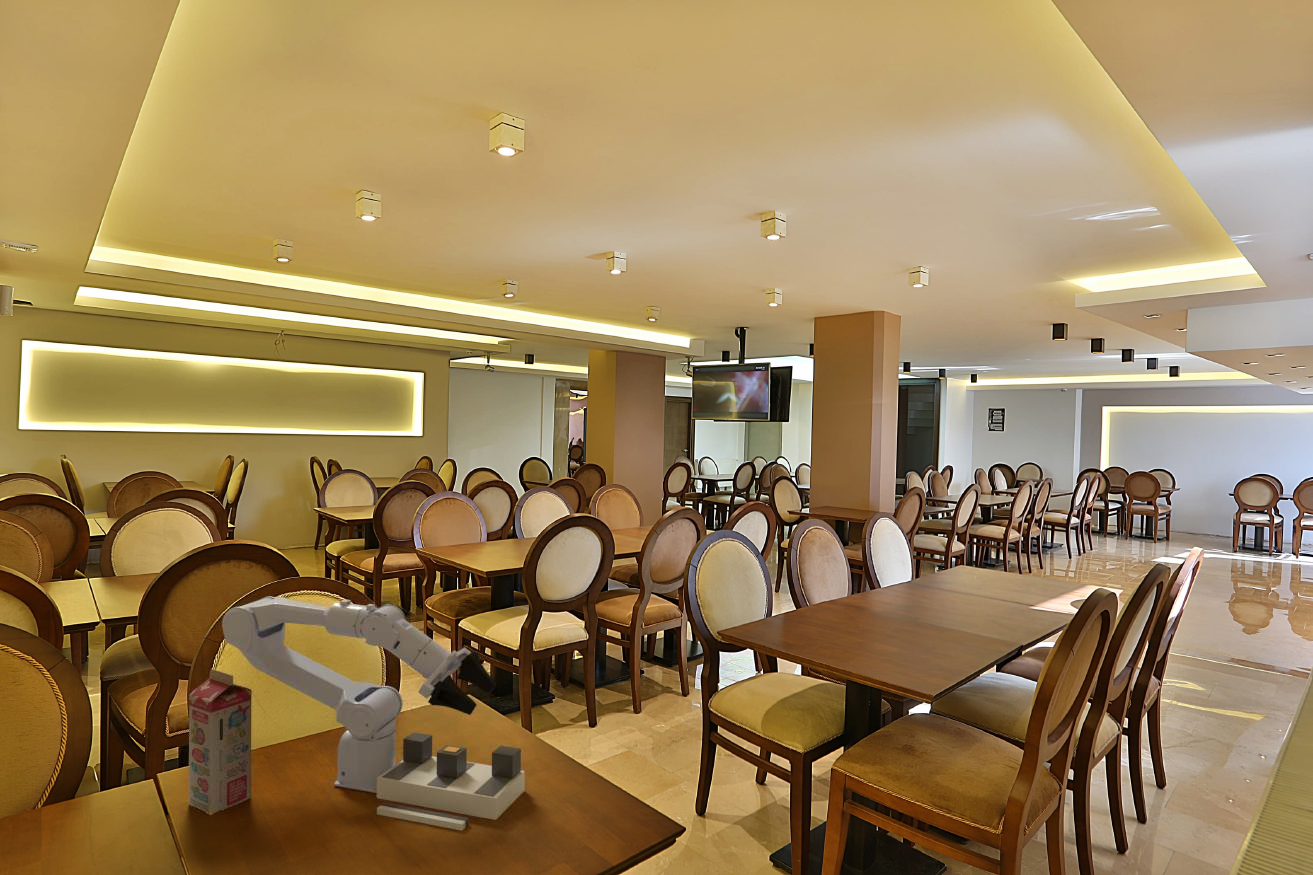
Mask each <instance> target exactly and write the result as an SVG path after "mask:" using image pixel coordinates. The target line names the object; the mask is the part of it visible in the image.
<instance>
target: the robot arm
mask: <svg viewBox="0 0 1313 875" xmlns="http://www.w3.org/2000/svg"><path fill="white" fill-rule="evenodd" d="M286 624H294V625H295V624H297V625H307V626H320V627H324V629H325V631H326V632H327V633H328V634H330V635H334V636H335V635H336V636H340V637H341V636H342V637H350V638H356V639H363V640H364V639H365V644H367V645H369V646H373V647H379V646H380V647H382V648H383V649H385V650H387V651H388V652H390V653H391V654H393V655H394V656H395V657H396V658H398V659H399V660H400V661H402V662H403V663H405V664H406V665H407V666H409V667H410V668H411V669H413V670H414V671H416V673H418V674H419V675H421V677H423V678H425V679H426V681H424V682H423V683H422V685H421V686H420V688H419V690H418V691H417V692H418V694H420V695H421V696H422V697H423V698H425V700H427V699H428V701H427V703H428V704H430V705H431V706H437V707H438V706H439V707H444V708H449V709H450V708H451V709H453V710H456V711H459V712H461V713H463V714H467V715H469V716H471V714H473V712H474V710H475V709H476V707H477V706H478V705H477V703H476V701H474V700H473V699H472V697H470V696H469V695H467V694H466V693H465V692H464V691H463V690H462V689H461V688H460V687H459V686H458V684H457V683H456V682H455V681H454V680H455V679H453V677H452V675H453V674H454V673H455V672H456V671H457V670H458V671H459V673H458V674H457V676H456V680H462V681H464V682H467V683H469V684H472V685H474V686H475V687H476V688H479V689H480V690H482V691H483V692H485V693H487V694H491V693H492V691H493V690H494V689H495V687H496V686H497V682H496V681H495V680H494V679H493V678H492V677H491V675H490V674H489V673H488V672H487V670H486V668H485V667H484V665H483V664H482V662H481V660H480V657H479V655H478V652H476V651H474V650H472V651H470V650H469V649H467V648H466V647H462V649H460V650H458V651H456V650H453V651H451V652H450V651H448V650H447V649H446V648H444V647H443V646H442V645H440V644H439V643H438V642H436V641H434V640H433V639H432V638H430V636H428V635H427V634H425V633H423V632H422V631H421V630H420V629H419V628H417V627H416V626H415V625H414V624H411V623H410V622H409V621H408V620H406V616H405V614H404V612H403V610H402V609H401V608H400V607H398V606H396V605H392V604H390V603H388V604H384V605H382V606H380V607H376V605H375V604H373V603H369V604H367V605H363V604H362V605H361V604H355V603H352V600H351V599H344V600H340V601H337V602H335V603H333V604H332V605H331V606H329V607H328V606H323V605H318V604H313V603H309V602H303V601H298V600H292V599H289V598H286V597H283V596H282V597H281V596H279V597H275V596H271V595H270V596H265V597H263V598H260V599H258V600H256V601H253V602H249V603H247V604H244V605H241V606H240V605H239V606H235V607H232V608H230V609H229V610H228V611H226V612H225V614H224V615H223V617H222V623H221V626H222V631H223V632H222V633H223V636H224V640H225V643H226V644H229V645H231V646H232V647H234V648H237V649H238V650H239V651H240V653H241V654H242V655H243V656H244V658H245V659H246V660H247V661H248V662H249V663H250V665H251V666H252V667H253V668H255V669H256V670H257V671H259V672H262V673H263V674H266V675H268V676H269V677H271V678H273V679H275V680H277V681H279V682H281V683H283V684H285V685H287V686H289V687H291V688H293V689H295V690H296V691H299V692H300V693H302V694H304V695H306V696H308V697H311V698H312V699H314V700H316V701H318V702H319V703H322V704H323V705H326V706H328V707H330V708H331V709H333V710H335V711H336V713H335V714H336V715H335V718H336V719H335V720H336V722H337V723H339V724H341V725H342V726H343V727H345V729H346V730H345V731H344V733H343V734H342V736H341V737H340V739H339V742H338V746H337V780H335V782H334V783H333V785H334V786H336V787H341V788H346V789H352V790H357V791H362V792H368V793H373V794H377V777H379V776H380V775H382V774H383V773H384V772H386V771H387V770H389V769H390V768H392V767H393V766H395V765H396V749H397V748H396V736H397V735H396V734H397V733H396V732H397V731H396V730H397V728H396V726H397V717H398V716H399V714H401V711H402V709H403V704H404V703H403V697H402V695H401V693H400V692H399V691H398V690H397V689H396V688H395V687H392V686H391V685H390V686H389V685H377V684H375V683H373V682H364V681H363V682H357V681H354V680H352V679H350V678H348V677H346V676H344V675H342V674H340V673H339V672H336V671H335V670H332V669H330V668H328V667H326V666H325V665H323V664H321V663H318V662H317V661H315V660H313V659H311V658H309V657H307V656H305V655H303V654H301V653H299V652H297V651H295V650H294V649H291V648H289V647H288V646H286V645H285V644H284V642H285V639H286V637H285V636H286Z"/></svg>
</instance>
